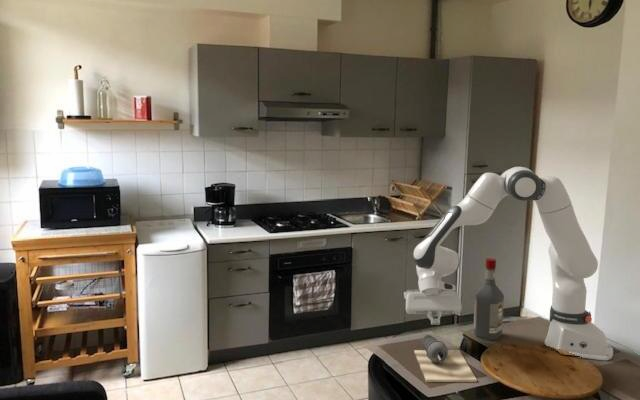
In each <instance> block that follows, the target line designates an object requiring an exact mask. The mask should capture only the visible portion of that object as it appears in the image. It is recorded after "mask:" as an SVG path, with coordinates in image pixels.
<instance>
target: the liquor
mask: <svg viewBox="0 0 640 400" xmlns="http://www.w3.org/2000/svg"><path fill="white" fill-rule="evenodd" d="M496 267H497V259H495V258H486V259H485V278H484V282H483V283H484V284H482V285H481V286H480V288H478V289H477V290H476V291H475V294H474V308H473V309H474V310H473V311H474V312H473V334H474V335H475V337H477V338H480V339H484V340H486V341H497V340H498V339H499V338H500V337H502V334H503V322H504V321H503V320H504V302H505V301H504V300H505V297H504V295H505V294H504V293H503V292H502V290H501V289H500V288H499V287H498V286H497V285H496V269H497V268H496Z"/></svg>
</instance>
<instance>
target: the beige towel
mask: <svg viewBox="0 0 640 400" xmlns="http://www.w3.org/2000/svg"><path fill="white" fill-rule="evenodd" d="M447 351H448V355H447V358H446V359H445V360H444V361H443V362H433V361H431V360H430V359H429V358H428V356H427V353H426V350H425V349H423V350H422V349H414V350H413V352H414V354H415V357H416V361H417V362H418V365H419V368H420V370H421V372H422V375H423V377H424V380H425V382H426V383H455V382H456V383H477V380H478V379H477V378H476V376H475V374H474V372H473V371H472V369H471V368H470V366H469V363H468V362H467V361H466V359H465V357H464V355H463V354H462V352H461V350H460V349H447Z"/></svg>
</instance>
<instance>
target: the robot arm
mask: <svg viewBox="0 0 640 400" xmlns="http://www.w3.org/2000/svg"><path fill="white" fill-rule="evenodd" d="M507 196H511V197H512V198H513V199H515V200H517V201H521V202H525V201H527V202H528V201H534V202H535V204H536V206H537V210H538V213H539V216H540V219H541V222H542V225H543V227H544V230H545V233H546V234H547V236H548V238H549V241H550V244H549V245H548V255H549V259H550V269H551V278H552V299H551V306H550V309H549V327H548V332H547V335H546V337H545V340H544V344H545V345H546V346H547V347H548V346H550V347H554V348H556V349H561V350H564V351H567V352H569V353H572V354H575V355H577V356H580V357H579V358H581V357H582V358H583V359H589V360H591V359H592V360H599V361H609V360H611V359H612V358H613V356H614V349H613V347H612V346H611V345H610V344H608V343H607V342H608V341H607V336H606V334H605V332H604V331H603V330H601V328H599V327H598V326H597V325H595V324H594V323H593V322H592V320H593V319H592V318H593V317H592V312H591V311H588V310H586V303H587V293H588V292H587V286H586V283H585V279H587V278H590V277H592V276H594V274H596V272H597V270H598V268H599V261H598V258H597V256H595V254H594V252H593V250H592V248H591V246H590V244H589V241H588V240H587V238H586V236H585V234H584V231H583V230H582V228H581V226H580V224H579V221H578V219H577V216H576V212H575V210H574V206H573V203H572V201H571V200H572V199H571V198H570V196H569V193H568V192H567V189H566V187H565V185H564V183H563V182H562V181H561V180H560V178H558V177H556V176H544V177H542V178H540V177H539V175H537V174H536V173H535V172H533V171H532V170H531V169H530V168H528V167H525V166H524V165H513V166H510V167H508V168H506V169H505V170H503V171H502V172H500V173H498V174H497V173H495V172H484V173H483V174H481V175H480V177H479V178H478V179H477V180H476V181H475V183H474V184H473V185H472V186H471V188H470V189H469V190H468V192H467V194H466V196H465V197H463V199H462V200H461V201H460V202H459V203H457V204H456V205H454V206H451V207H449V208H448V209H447V211H446V212H444V214H443V215H442V216H441V217H440V219H439V220H438V221H437V223H435V224H434V226H433V227H432V228H431V230H430V231H429V232H428V233H427V235H426V236H425V237H424V238H423V239H422V240H421V241H419V242H418V243H417V244H416V245H415V246H414V249H413V251H412V257H413V261H414V263H415V269H416V275H417V277H418V281H417V285H418V289H407V290H405V291H404V292H403V298H404V300H405V312H406V313H407V315H426V318H428V320H430V325H432V326H433V325H434V326H435V325H437V326H439V325H440V324H441V317H442V315H450V314H451V315H452V314H455V315H456V314H460V313H461V312H462V308H463V306H462V302H461V298H460V295H459V293H458V292H457V291H456V288H457V287H456V285H455V284H453V283H452V284H451V283H448V282H445V281H442V278H445V277H448V276H451V275H453V274H454V273H456V272H457V271H458V270H459V268H460V264H461V263H460V262H461V259H460V255H459V254H458V252H457V251H455V250H453V249H450V248H448V247H444V246H442V245H441V244H442V243H443V242H444V240H445V239H446V238H447V237H448V236H449V234H450V233H451V232H452V231H453V230H454V229H455V228H458V227H462V226H463V227H464V226H477V225H481V224H484V223H485V222H487V221H488V219H490V217H491V216H492V215H493V213H494V211H495V210H496V208H497V206H498V204H499V202H501V201H502V200H503V199H504V198H506V197H507ZM432 315H436V316H437V318H434V317H433V316H432Z"/></svg>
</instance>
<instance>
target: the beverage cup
mask: <svg viewBox="0 0 640 400" xmlns="http://www.w3.org/2000/svg"><path fill="white" fill-rule="evenodd" d="M421 344H422V347H423V348H424V350H426V353H427V356H428V358H429V359H430V360H431V361H433V362H443V361H444V360H445V359H446V358H447V355H448V351H447V350H448V348H447V345H446V344H445V343H444V342H443V341H441V340H440V341H439V340H438V339H436V338H435V337H434V336H432V335H430V334H426V335H424V336H423V337H422V339H421Z"/></svg>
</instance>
